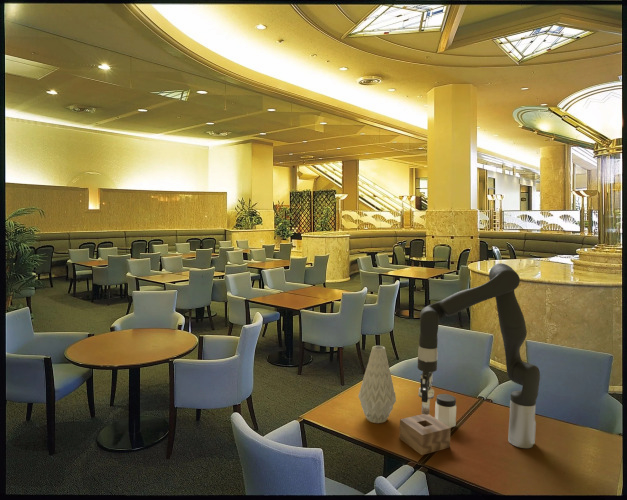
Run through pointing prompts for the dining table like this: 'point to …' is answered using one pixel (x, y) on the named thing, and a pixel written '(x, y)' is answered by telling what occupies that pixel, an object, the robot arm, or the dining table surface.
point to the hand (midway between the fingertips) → (425, 398)
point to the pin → (427, 405)
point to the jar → (446, 409)
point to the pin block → (424, 433)
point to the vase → (377, 387)
